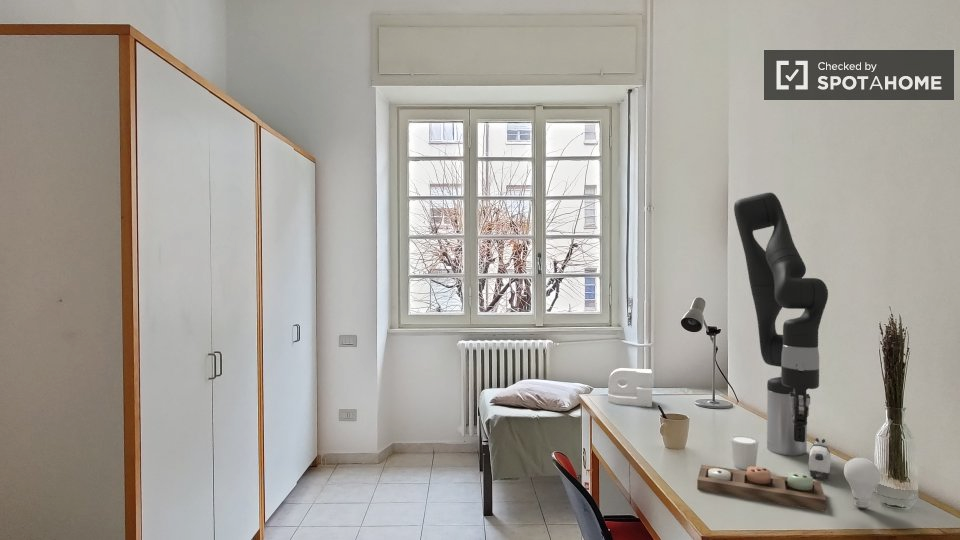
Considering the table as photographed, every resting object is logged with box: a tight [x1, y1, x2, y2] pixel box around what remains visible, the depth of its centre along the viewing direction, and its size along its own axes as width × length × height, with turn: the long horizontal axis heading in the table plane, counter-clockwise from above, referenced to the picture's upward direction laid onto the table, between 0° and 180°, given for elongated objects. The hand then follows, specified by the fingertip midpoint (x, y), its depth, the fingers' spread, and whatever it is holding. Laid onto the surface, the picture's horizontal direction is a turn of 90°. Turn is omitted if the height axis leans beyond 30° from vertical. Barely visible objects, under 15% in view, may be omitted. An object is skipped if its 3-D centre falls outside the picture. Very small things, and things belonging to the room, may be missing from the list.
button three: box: [746, 465, 772, 484], centre depth 133 cm, size 5×5×2 cm
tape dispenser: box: [607, 367, 653, 408], centre depth 215 cm, size 16×10×13 cm, turn 75°
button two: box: [787, 471, 814, 490], centre depth 129 cm, size 5×5×2 cm
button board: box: [696, 464, 827, 512], centre depth 133 cm, size 26×11×2 cm, turn 64°
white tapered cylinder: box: [729, 435, 759, 471], centre depth 149 cm, size 7×7×7 cm
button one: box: [708, 468, 731, 481], centre depth 136 cm, size 5×5×2 cm
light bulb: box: [843, 457, 881, 510], centre depth 123 cm, size 7×7×11 cm
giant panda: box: [808, 437, 831, 481], centre depth 144 cm, size 12×5×8 cm, turn 147°
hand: (799, 441), depth 129 cm, fingers closed
